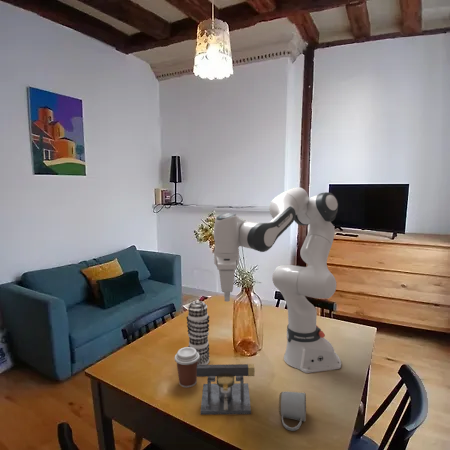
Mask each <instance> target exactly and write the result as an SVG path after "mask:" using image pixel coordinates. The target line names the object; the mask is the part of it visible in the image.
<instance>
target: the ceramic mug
mask: <svg viewBox="0 0 450 450" xmlns="http://www.w3.org/2000/svg"><path fill="white" fill-rule="evenodd" d="M306 396H307V395H306V393H305V392H297V391H296V392H295V391H281V392H279V395H278V415H279V416H280V417H281V422H282V425H283V427H284V428H285V429H286V430H287V431H291V432H295V431H298V430H299V429H300V428H301V425H302V423H303V422H306V419H307V418H306V417H307V398H306ZM284 418H286V419H291V420H295V421H299V422H298V424H297V425H295V426H294V427H290V426H289V425H287V424H286V423H285V421H284Z"/></svg>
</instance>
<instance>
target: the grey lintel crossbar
mask: <svg viewBox="0 0 450 450" xmlns="http://www.w3.org/2000/svg"><path fill="white" fill-rule="evenodd" d="M210 376H216V384H217V385H218V386H220V387H222V388H223V391H228V388H229V387H231V386H233V385H234V384H235V377H236V376H243V377H255V363H247V364H243V363H242V364H241V363H240V364H234V363H233V364H230V363H229V364H207V365H197V378H198V377H204V378H205V377H207V378H208V377H210Z"/></svg>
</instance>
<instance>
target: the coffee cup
mask: <svg viewBox="0 0 450 450" xmlns="http://www.w3.org/2000/svg"><path fill="white" fill-rule="evenodd" d="M199 358H200V355H199V353H198V352H197V351H196V349H194V348H192V347H188V346H185V347H182V348H179V349H178V350H177V353H176V354H175V355H174V362H176V367H177V368H176V369H177V375H178V383H179V385H180V386H181V387H182V388H191V387H192V388H193V387H194V386H195V385H197V382H198V377H197V365H198V360H199Z"/></svg>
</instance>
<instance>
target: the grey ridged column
mask: <svg viewBox="0 0 450 450" xmlns="http://www.w3.org/2000/svg"><path fill="white" fill-rule="evenodd" d="M187 309H188V312H187V313H188V314H187V316H186V317H185V318H186V321H187V322H186V324H187V325H186V327H187V332H188V333H187V336H188V337H189V338H188V339H189V340H188V346H187V347H192V348H194V349H196V351H197V352H198V353H199V355H200V358H199V360H198V365H209V362H210V352H209V351H210V344H209V338H208V337H209V334H210V333H209V331H210V315H208V314H209V312H208V305H207V304H206V303H205V302H204V301H203V300H194V301H192V302H190V303H189V305H187Z"/></svg>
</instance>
